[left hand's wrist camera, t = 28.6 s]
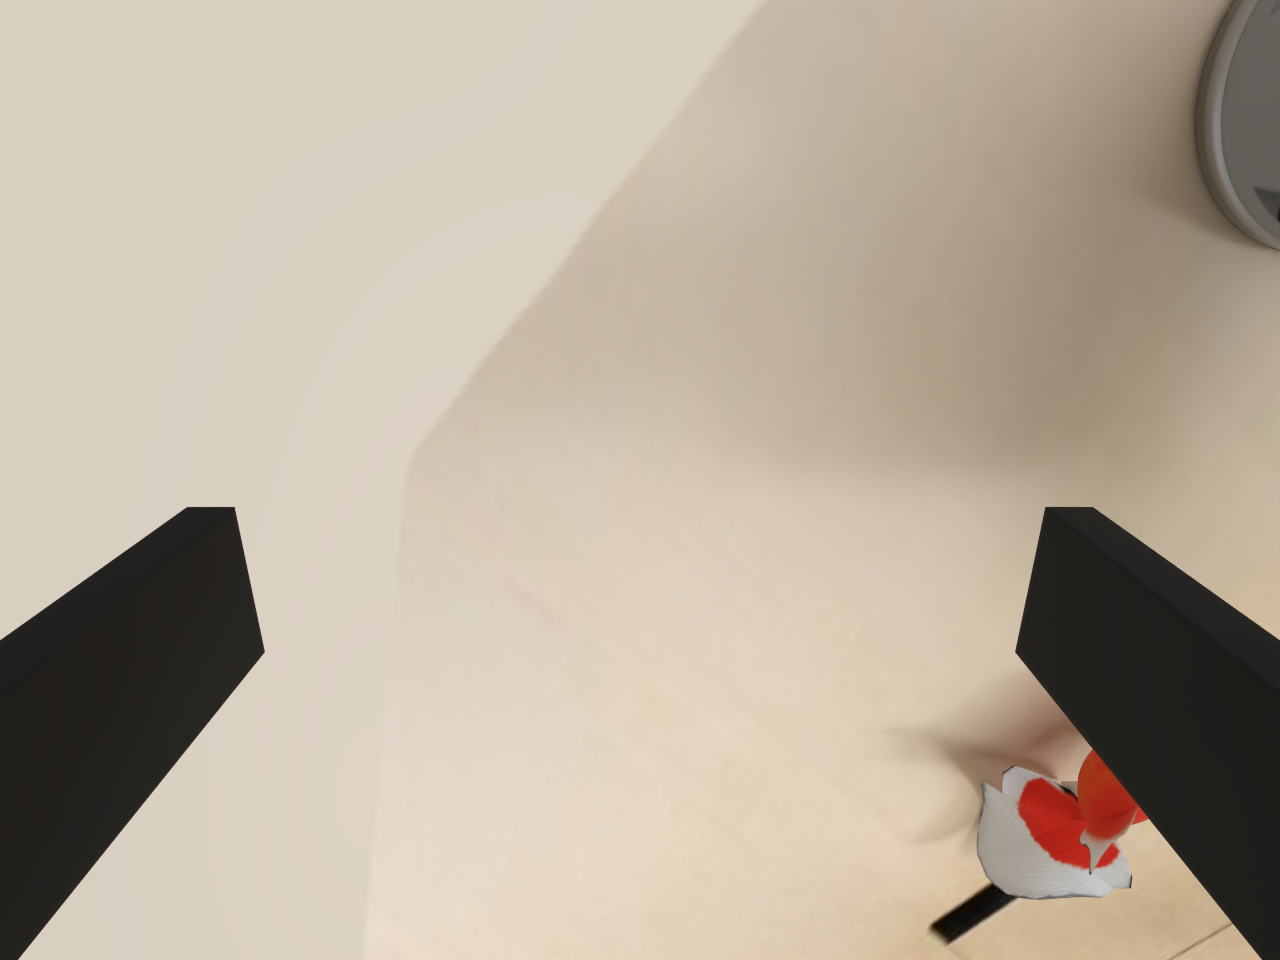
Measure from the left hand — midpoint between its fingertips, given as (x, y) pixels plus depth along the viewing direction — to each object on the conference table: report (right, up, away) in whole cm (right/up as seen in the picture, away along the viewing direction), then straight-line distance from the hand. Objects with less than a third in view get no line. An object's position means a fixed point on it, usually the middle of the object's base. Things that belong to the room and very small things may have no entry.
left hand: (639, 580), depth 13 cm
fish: (+26, -16, +36) cm, 48 cm away
